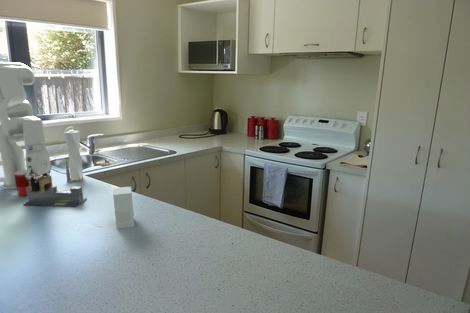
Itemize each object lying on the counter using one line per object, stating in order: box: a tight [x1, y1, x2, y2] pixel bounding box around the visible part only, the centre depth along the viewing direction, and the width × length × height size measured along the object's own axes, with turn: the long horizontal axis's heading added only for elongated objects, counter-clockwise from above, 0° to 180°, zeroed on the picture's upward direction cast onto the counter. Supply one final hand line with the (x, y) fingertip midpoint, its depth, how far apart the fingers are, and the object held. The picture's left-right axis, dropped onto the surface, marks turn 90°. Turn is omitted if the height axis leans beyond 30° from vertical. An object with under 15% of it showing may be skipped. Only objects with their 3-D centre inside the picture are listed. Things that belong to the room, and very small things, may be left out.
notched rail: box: [22, 185, 88, 208], centre depth 150 cm, size 24×9×7 cm, turn 84°
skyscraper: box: [63, 125, 84, 183], centre depth 180 cm, size 8×8×28 cm
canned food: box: [14, 169, 34, 198], centre depth 160 cm, size 8×8×11 cm
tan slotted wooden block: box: [29, 175, 54, 193], centre depth 149 cm, size 6×6×6 cm
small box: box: [112, 186, 135, 230], centre depth 127 cm, size 8×6×13 cm
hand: (41, 188), depth 149 cm, fingers closed on tan slotted wooden block, 6 cm apart
